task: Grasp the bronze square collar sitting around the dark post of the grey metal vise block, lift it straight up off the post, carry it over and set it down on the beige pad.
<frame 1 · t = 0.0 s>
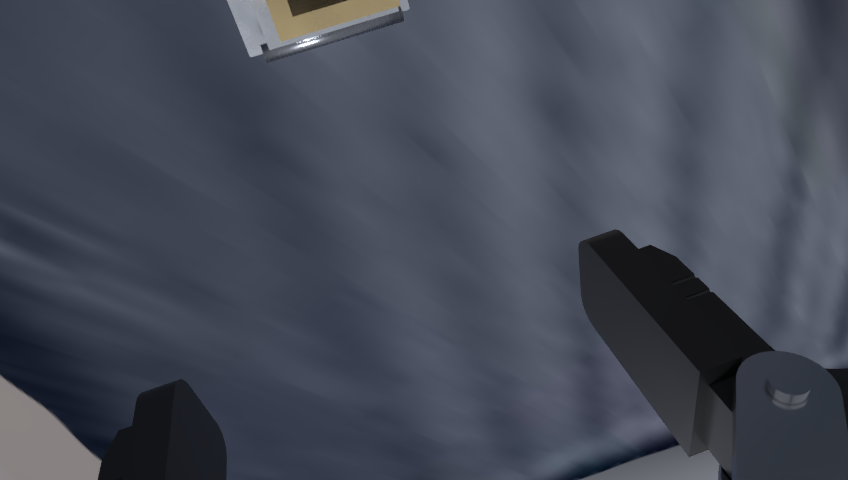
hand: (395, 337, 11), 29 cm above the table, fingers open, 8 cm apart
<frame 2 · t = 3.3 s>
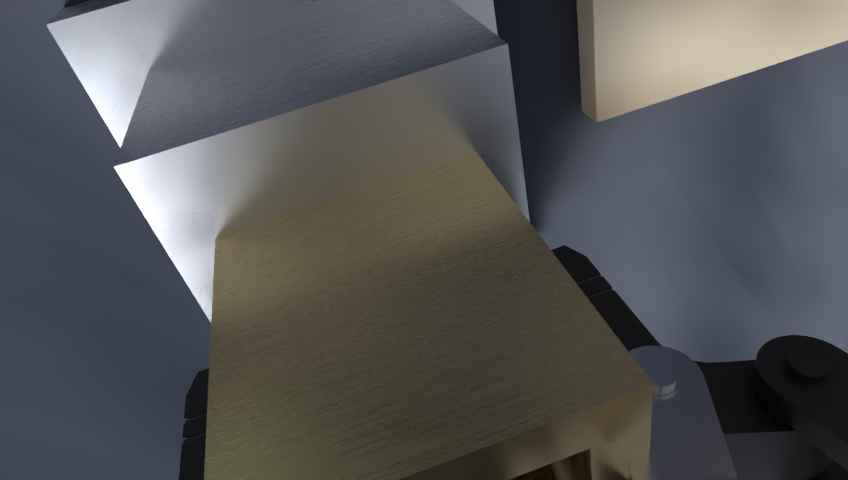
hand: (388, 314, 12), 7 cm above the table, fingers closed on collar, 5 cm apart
vise block: (339, 159, 18), on the table
collar: (382, 292, 13), point 7 cm above the table, touching gripper, vise block
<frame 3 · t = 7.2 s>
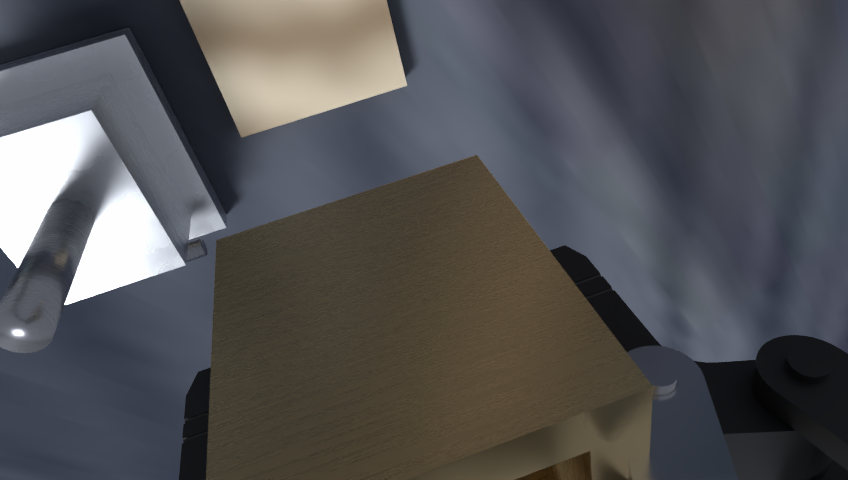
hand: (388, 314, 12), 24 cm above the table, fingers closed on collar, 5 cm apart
beige pad: (294, 20, 31), on the table
vise block: (96, 158, 33), on the table
collar: (383, 294, 13), point 24 cm above the table, touching gripper
when the fingers open (3 cm above the table, at t = 11.2 s): collar drops 1 cm, resting on beige pad.
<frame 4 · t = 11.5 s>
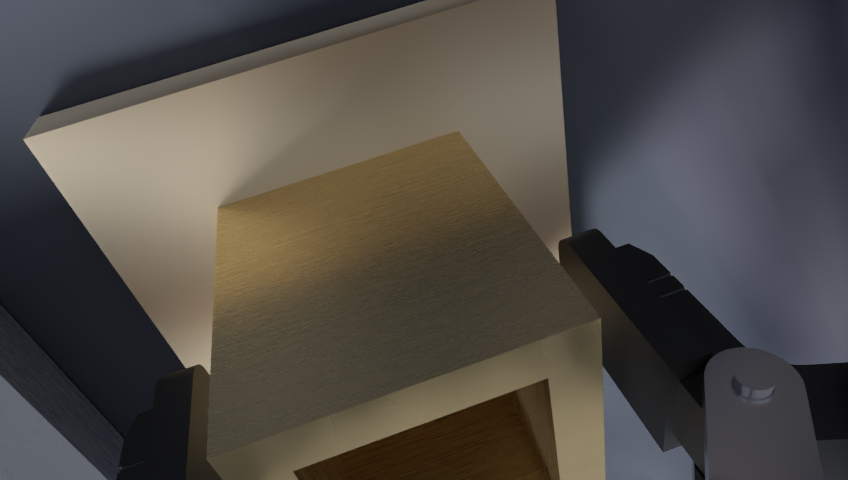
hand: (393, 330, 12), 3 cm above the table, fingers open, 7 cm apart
beige pad: (363, 237, 14), on the table
collar: (372, 262, 14), point 1 cm above the table, touching beige pad
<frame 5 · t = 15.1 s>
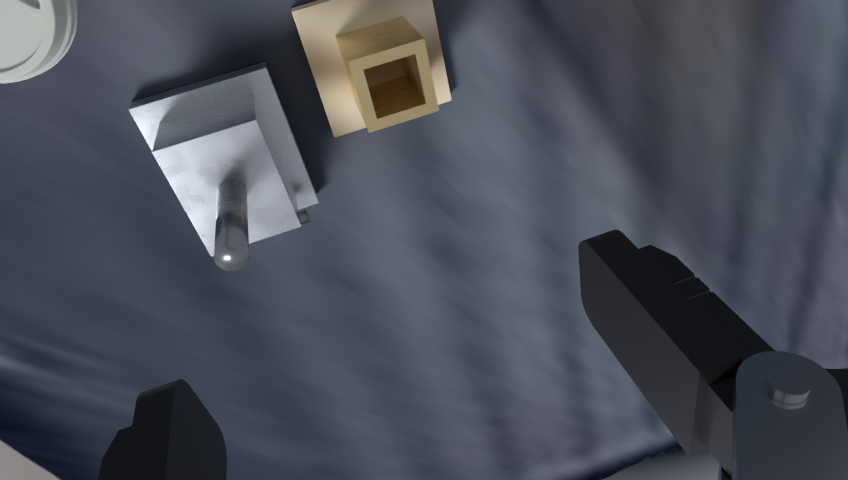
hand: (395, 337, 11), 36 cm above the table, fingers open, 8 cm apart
beige pad: (375, 55, 45), on the table
vise block: (232, 152, 46), on the table
collar: (378, 60, 44), point 1 cm above the table, touching beige pad
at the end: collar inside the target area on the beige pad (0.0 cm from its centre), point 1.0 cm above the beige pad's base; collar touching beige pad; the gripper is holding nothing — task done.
